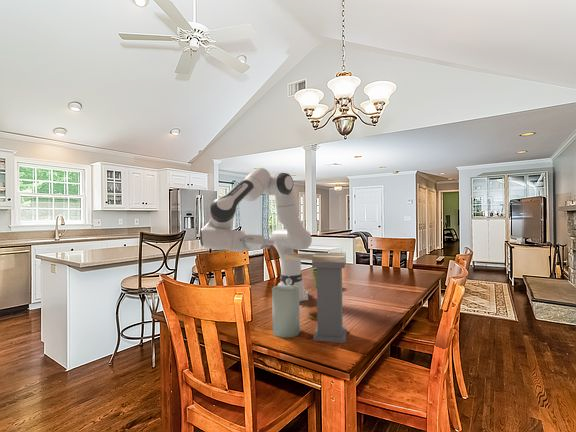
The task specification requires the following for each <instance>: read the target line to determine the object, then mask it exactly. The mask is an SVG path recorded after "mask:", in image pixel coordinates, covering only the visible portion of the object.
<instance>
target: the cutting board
mask: <svg viewBox="0 0 576 432" xmlns="http://www.w3.org/2000/svg"><path fill="white" fill-rule="evenodd" d="M345 259H346V260H347V256H346V252H315V253H296V252H294V253H286V254H284V260H301V261H311V263H312V262H331V263H344V262H345Z"/></svg>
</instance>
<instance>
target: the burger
mask: <svg viewBox="0 0 576 432" xmlns="http://www.w3.org/2000/svg"><path fill="white" fill-rule="evenodd" d="M308 319H310V320H312V321H315V322H316V321H317V306H313V307H311V308H310V309H309V310H308Z"/></svg>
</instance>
